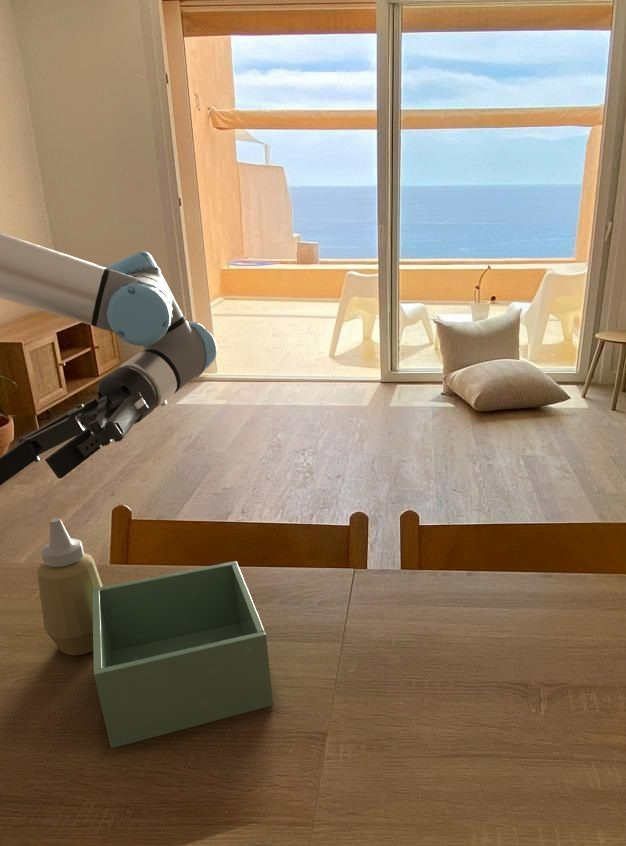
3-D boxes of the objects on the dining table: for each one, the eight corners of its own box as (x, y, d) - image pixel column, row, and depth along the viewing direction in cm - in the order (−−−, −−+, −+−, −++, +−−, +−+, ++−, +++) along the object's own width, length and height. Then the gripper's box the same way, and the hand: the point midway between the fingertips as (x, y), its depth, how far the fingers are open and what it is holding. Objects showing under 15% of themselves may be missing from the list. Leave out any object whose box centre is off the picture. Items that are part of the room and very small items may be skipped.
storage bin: (106, 654, 89) (92, 588, 85) (243, 623, 95) (236, 560, 90) (111, 748, 74) (93, 674, 70) (273, 705, 80) (266, 634, 76)
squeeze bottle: (36, 656, 89) (2, 530, 81) (79, 620, 96) (51, 502, 88) (89, 667, 86) (59, 539, 79) (129, 630, 93) (104, 509, 86)
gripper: (210, 400, 94) (101, 491, 79) (97, 421, 107) (-14, 503, 93) (182, 349, 90) (63, 436, 76) (69, 379, 104) (-51, 457, 89)
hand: (20, 473), depth 84 cm, fingers open, 13 cm apart
